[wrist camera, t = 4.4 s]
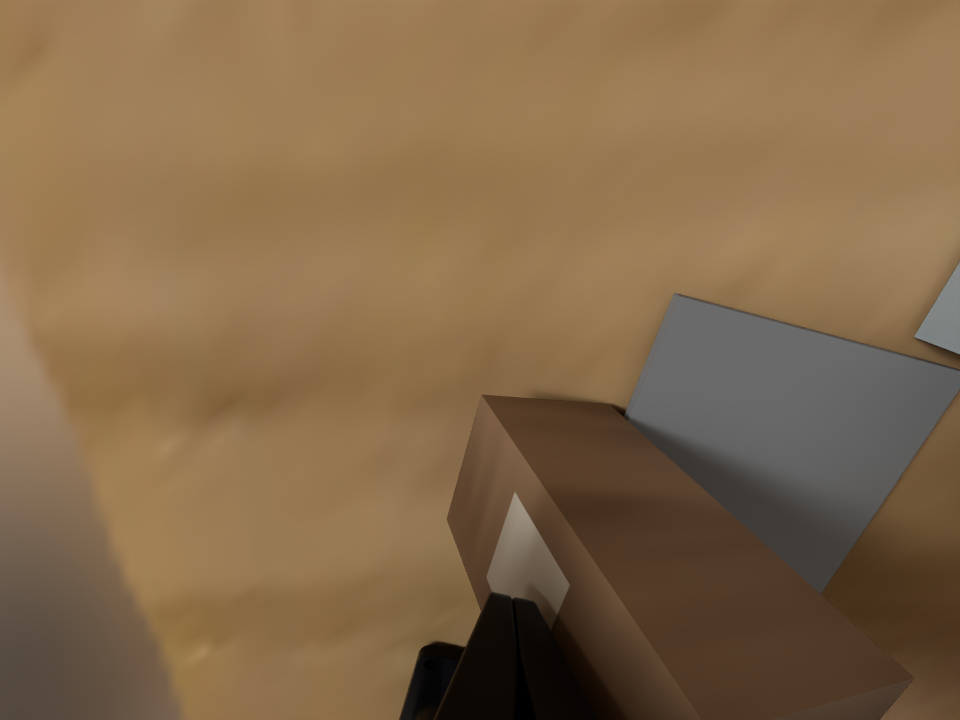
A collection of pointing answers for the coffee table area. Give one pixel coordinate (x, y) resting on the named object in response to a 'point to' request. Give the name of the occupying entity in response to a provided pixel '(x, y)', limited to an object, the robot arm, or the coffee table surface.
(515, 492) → the walnut block
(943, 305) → the bluegrey block
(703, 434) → the felt mat
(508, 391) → the coffee table surface
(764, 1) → the coffee table surface
